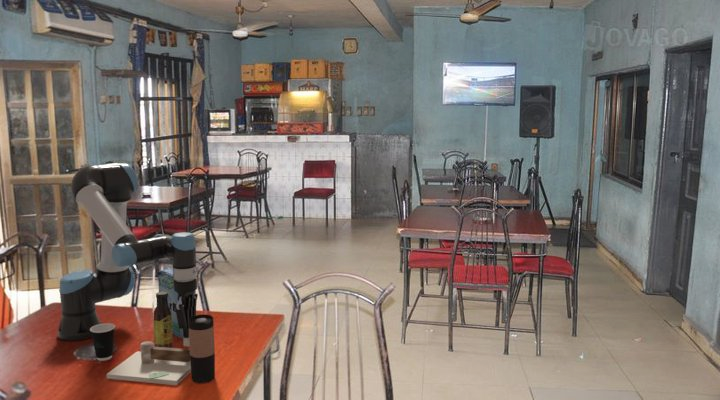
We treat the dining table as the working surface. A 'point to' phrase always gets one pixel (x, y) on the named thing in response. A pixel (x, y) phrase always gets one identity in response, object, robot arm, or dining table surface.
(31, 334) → the dining table surface
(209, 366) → the travel mug
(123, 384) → the dining table surface
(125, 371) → the board
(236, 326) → the dining table surface
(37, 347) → the dining table surface
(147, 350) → the grey hammer
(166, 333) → the sauce bottle
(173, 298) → the gum box
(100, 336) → the dixie cup
